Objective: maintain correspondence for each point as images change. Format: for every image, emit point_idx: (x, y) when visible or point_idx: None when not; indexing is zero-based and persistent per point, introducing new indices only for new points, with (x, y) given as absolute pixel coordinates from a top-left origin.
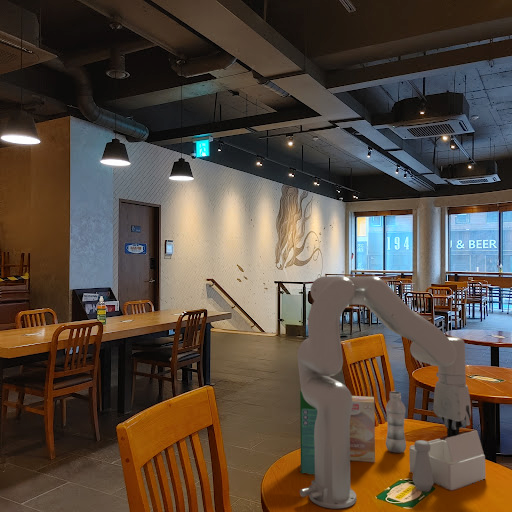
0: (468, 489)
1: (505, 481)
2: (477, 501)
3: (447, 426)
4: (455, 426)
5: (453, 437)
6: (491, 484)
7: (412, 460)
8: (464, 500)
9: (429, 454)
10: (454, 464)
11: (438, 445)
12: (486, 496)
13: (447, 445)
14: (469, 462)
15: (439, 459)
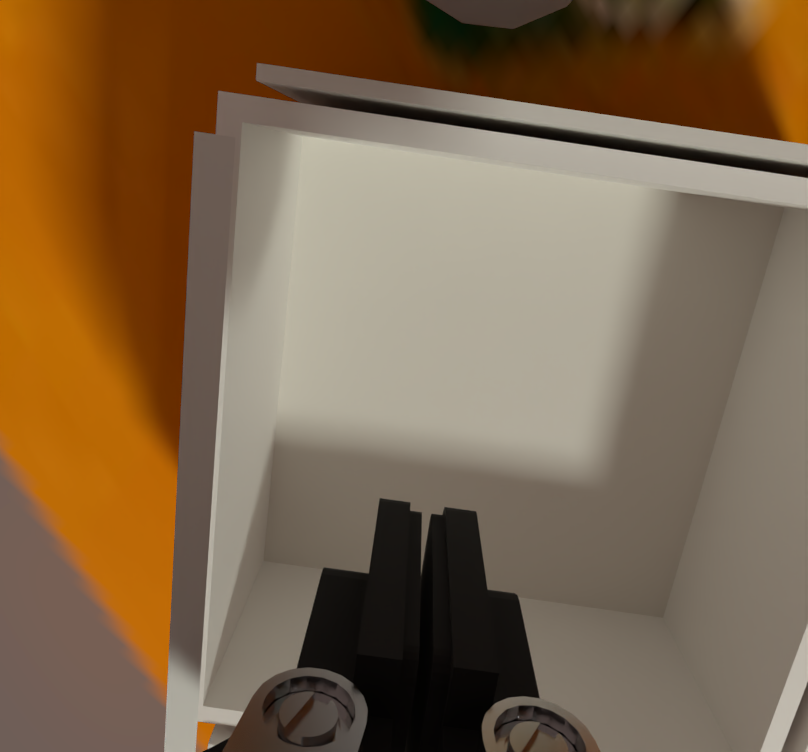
0: None
1: (142, 641)
2: (30, 107)
3: (521, 734)
4: (229, 746)
5: (182, 382)
6: (169, 515)
7: None
8: (102, 24)
9: (763, 503)
10: None
11: (752, 683)
12: (52, 269)
13: (668, 741)
14: None
15: (688, 593)
